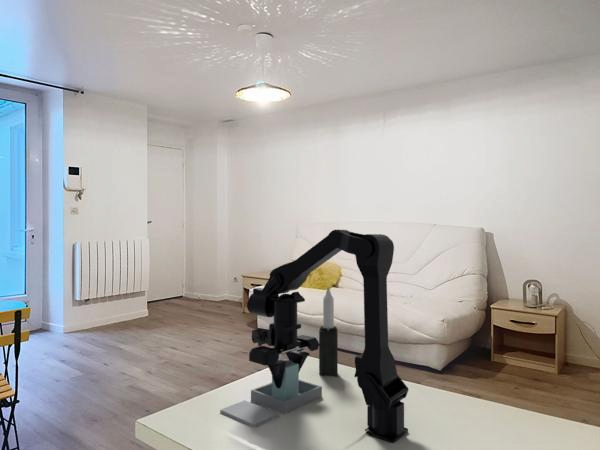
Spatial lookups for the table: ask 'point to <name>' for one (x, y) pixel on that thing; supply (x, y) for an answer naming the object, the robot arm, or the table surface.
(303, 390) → the case
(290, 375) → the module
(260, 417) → the lid panel
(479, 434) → the table surface
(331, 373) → the black grey pointed bar
